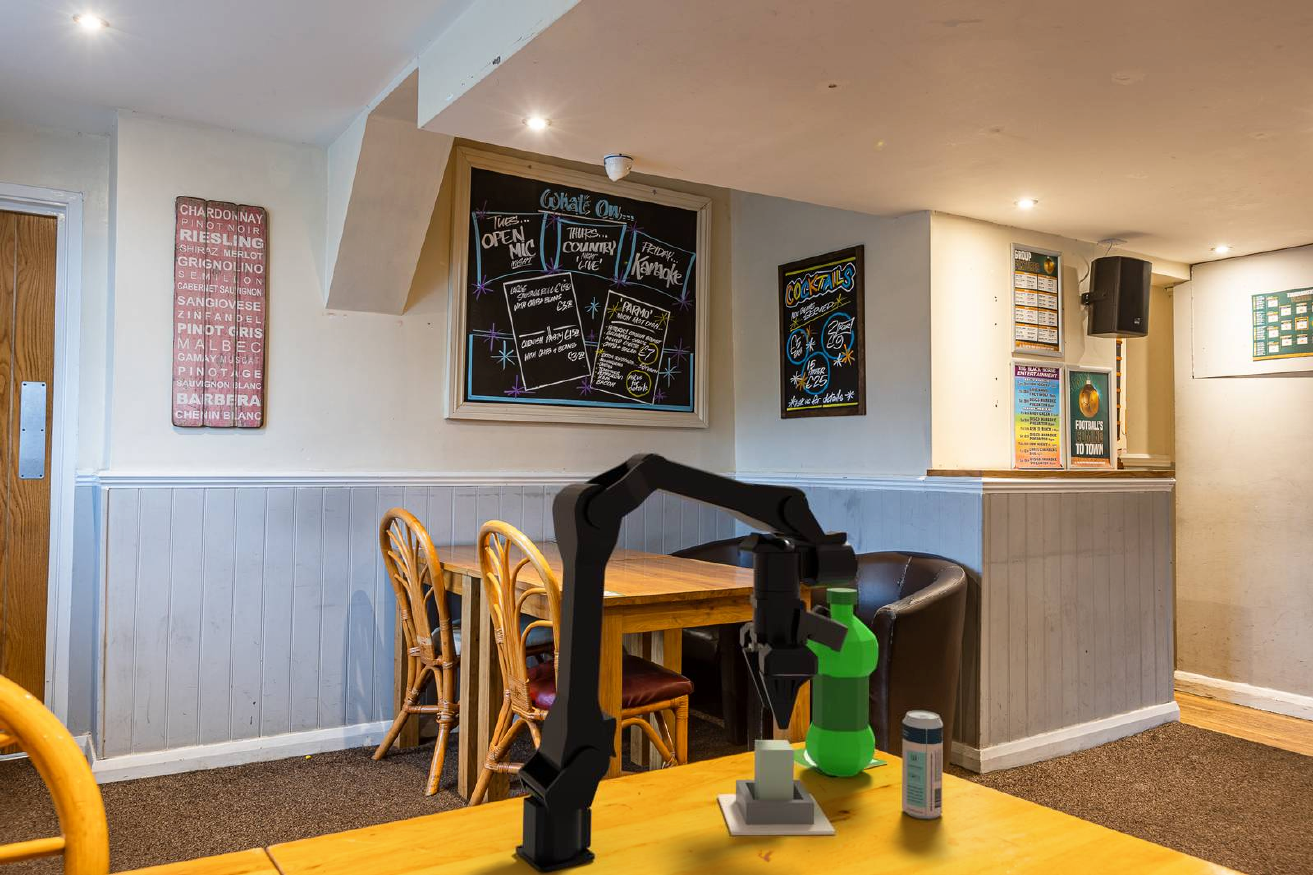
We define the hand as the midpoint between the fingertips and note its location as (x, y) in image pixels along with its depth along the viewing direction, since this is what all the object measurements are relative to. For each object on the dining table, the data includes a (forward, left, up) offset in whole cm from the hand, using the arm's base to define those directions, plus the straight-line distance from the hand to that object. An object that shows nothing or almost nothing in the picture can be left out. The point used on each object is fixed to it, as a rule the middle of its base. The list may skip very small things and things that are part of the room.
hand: (775, 718), depth 113 cm
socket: (0, 0, -12) cm, 12 cm away
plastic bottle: (+19, +8, -12) cm, 24 cm away
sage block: (0, 0, -11) cm, 11 cm away
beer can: (+16, -9, -12) cm, 22 cm away
